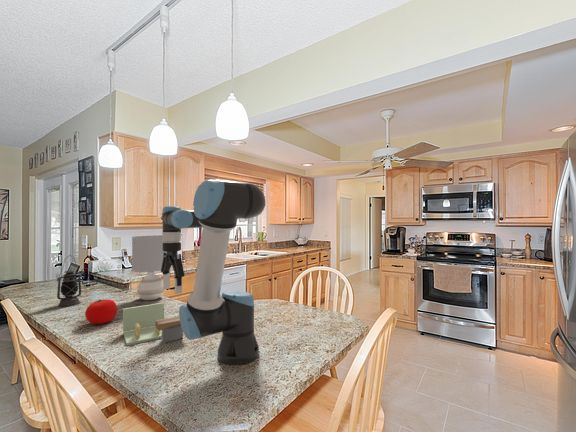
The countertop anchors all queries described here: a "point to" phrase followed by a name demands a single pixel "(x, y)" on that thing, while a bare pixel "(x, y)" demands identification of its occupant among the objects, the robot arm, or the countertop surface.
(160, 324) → the shelf board
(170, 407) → the countertop surface
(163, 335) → the block
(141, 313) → the cabinet
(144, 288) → the lamp
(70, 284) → the lantern
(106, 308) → the tomato
